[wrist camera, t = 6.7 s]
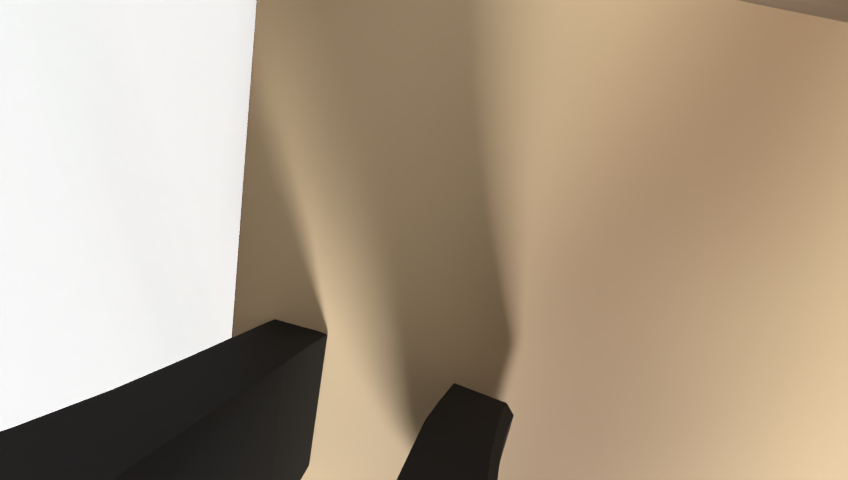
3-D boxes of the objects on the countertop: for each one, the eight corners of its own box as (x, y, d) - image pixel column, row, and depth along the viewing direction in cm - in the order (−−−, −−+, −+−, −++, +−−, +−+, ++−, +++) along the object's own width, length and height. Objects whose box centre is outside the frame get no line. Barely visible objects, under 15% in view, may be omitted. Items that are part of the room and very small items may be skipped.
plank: (1147, 57, 8) (1302, 114, 7) (766, 666, 13) (802, 786, 12) (314, -113, 9) (263, -97, 7) (246, 556, 14) (207, 660, 12)
